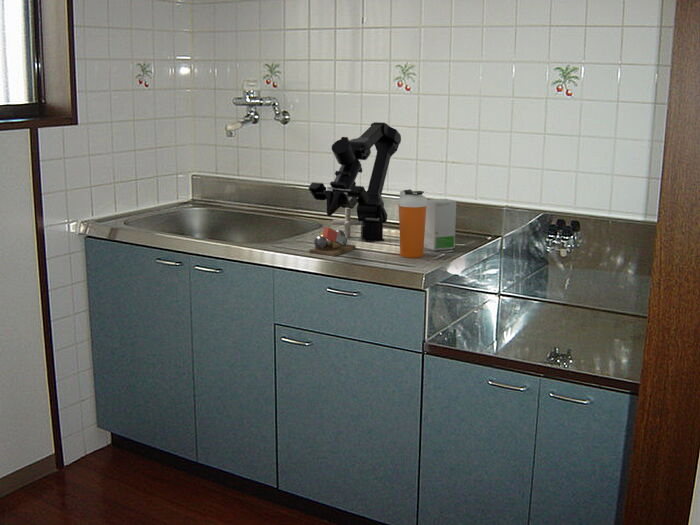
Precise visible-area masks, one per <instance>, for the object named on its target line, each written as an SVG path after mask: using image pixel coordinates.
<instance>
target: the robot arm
mask: <svg viewBox="0 0 700 525" xmlns="http://www.w3.org/2000/svg"><path fill="white" fill-rule="evenodd" d="M401 142H402V136H401V133H400V132H399V131H398V129H397V128H393V127H392V126H390V125H388V123H387V122H379V121H378V122H377V121H374V122H371V124H370V126H369V127H367V129H366V130H365V131H364V132H363V133H362V134H361V135H360V136H359V137H356V138H352V139H349V137H348V136H342V137H341V138H340V139H339V140H336V141H335V142H334V143H333V144H331V151H332V153H333V156H334V158H335V160H336V161H337V163H338V164H339V165H341V166H340V167H339V169H338V170H335V172H334V175H335V179H334V180H332V181H330V183H329V185H330V186H326V187H325V184H324V183H323V182H311V183H310V185H309V187H308V190H309V192H310V194H311V195H312V196H313V198H314V199H315V200H317V201H326V215H327V216H328V217H331V216H332V215H334V214H335V213H336V212H337V210H338V209H340V208H342V209H345V208H350V210H352V209H354V208H355V206H356V214H357V215H356V216H357V220H358V221H359V222H360V221H362V225H360V239H362V241H364V242H384V241H385V238H384V237H383V235H384V234H383V233H384V232H383V231H384V230H383V229H384V227H383V226H384V224H386V223H387V221H388V213H387V211H386V208H385V207H384V206H385V202H384V200H383V197H382V195H383V194H382V193H383V190H384V185H385V181H386V177H387V174H388V169H389V165H390V161H391V159H392V158H391V157H392V156H393V155H394V154H396V152H398V149H399V146H400V145H401ZM373 146H374V147H375V150H376V155H375V159H374V162H373V167H372V170H371V171H372V172H371V175H370V178H369V183H368V187H367V190H366V188H365V187H364V186H363V185H362V186H361V185H357V183H356V179H357V176H358V174H360V173H363V167H362V164H361V161H366V160H368V158H369V157H370V155H371V153H372V150H371V148H373Z"/></svg>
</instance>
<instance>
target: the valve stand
mask: <svg viewBox="0 0 700 525" xmlns="http://www.w3.org/2000/svg"><path fill="white" fill-rule="evenodd" d="M335 231H336V232H338V234H340V235H342V236H344V237H345V231H343V230H341V229H338V230H335ZM322 235H323V231H321V232H319V233H318V236H316V237H315V239H314V241H313V243H314V248H310V249H309V250H308V252H310V253H309V254H313V253H316V255H322V256H330V257H335V256H336V257H337V256H339V255H341V254H344V253H347V252H350V251H353V250H355V249H356V245H354V244H346V245H341V244H339V243H337V242H334V241H330V240H328V239H326V238H324V237H322Z"/></svg>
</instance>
